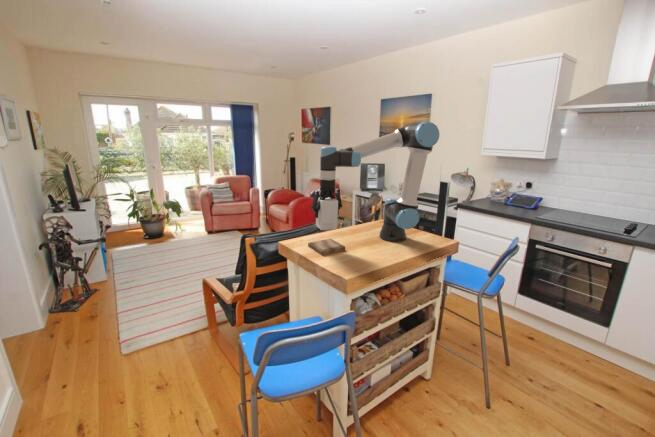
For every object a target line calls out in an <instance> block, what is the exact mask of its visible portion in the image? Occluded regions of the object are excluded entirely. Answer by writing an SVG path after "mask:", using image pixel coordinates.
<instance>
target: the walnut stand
mask: <svg viewBox="0 0 655 437" xmlns="http://www.w3.org/2000/svg"><path fill="white" fill-rule="evenodd" d="M307 247H309V248H310V249H311V250H313V251H314V252H316V253H317V254H319V255H320V256H326V255H329V254H334V253H338V252H342V251H343V252H344V251H346V246H345V245H344V244H341V243H340V242H337V241H336V240H334V239H333V238H327V239H321V240H316V241H311V242H308V243H307Z"/></svg>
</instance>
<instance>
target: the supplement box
mask: <svg viewBox="0 0 655 437" xmlns="http://www.w3.org/2000/svg"><path fill="white" fill-rule="evenodd" d="M319 199H320V197H319ZM319 199H318V201H320V209H319V212H320V224H319V225H318V224H316V223H315V226H316V227H317V229H319V231H328V230H337V229H338V222H339V221H338V219H339V218H338V217H339V214H338V200H337V199H336V198H335V199H332V198H329V197H328V198H325V200H319ZM317 203H318V202H317Z"/></svg>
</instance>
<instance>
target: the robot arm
mask: <svg viewBox="0 0 655 437" xmlns="http://www.w3.org/2000/svg"><path fill="white" fill-rule="evenodd" d="M439 139H440V129H439V127H438V126H437V125H436V124H435V123H434V122H430V121H418V122H411V123H409V124H408V125H407V124H406V125H405V126H402V127H399V128H397V129H395V130H394V132H392V133H391V132H390V133H388V134H385V135H382V136H379V137H376V138H373V139H370V140H367V141H364V142H361V143H357V144H356V145H352V146H349V147H347V148H341V149H338V150H337V146H322V147H321V148H320V165H319V166H320V169H319V170H320V176H319V177H320V180H319V187H320V188H319V189H318V190H314V191H313V192H314V194H313V195H314V196H313V199H312V204H311V207H310V210H311V211H312V212H314V218H315V225H316V224H318V225H319V224H320V212H319V209H320V201H318V199H319V198H320V199H319V200H325V198H328V197H329V198H332V199H336V200H338V215H339V214H340V212H339V211H340V210H341V208H343V203H342V202H343V201H342V199H341V189H340V188H336V178H337V177H336V176H337V174H336V171H337V170H336V169H337V168H339V167H344V168H347V167H348V168H358V167H360V165H361V161H362V159H363V158H367V157H369V156H374V155H376V154H379V153H381V152H385V151H387V150H391V149H393V148H397V147H399V148H403V147H406V146H407V149H408V150H409V154H408V155H409V156H408V160H407V164H406V168H405V173H404V178H403V182H402V187H401V191H400V195H399V198H394V197H393V198H386V199H385V200H384V204H383V205H384V208H383V224H382V226H381V229H380V232H379V238H380V239H381V240H384V241H388V242H394V243H395V242H397V243H398V242H403V241H405V240H406V239H407V233H406V230H411V229H412V228H414V227H416V226H417V225H418V224H419V221H420V214H419V212H418V209H419V203H418V201H417V200H418V195H419V193H420V188H421V183H422V180H423V175H424V170H425V167H426V163H427V158H428V155H429V154H431V153H432V152H433V148H434V147H433V146H435V145H436V144H437V143H438V141H439ZM317 202H318V203H317Z"/></svg>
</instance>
